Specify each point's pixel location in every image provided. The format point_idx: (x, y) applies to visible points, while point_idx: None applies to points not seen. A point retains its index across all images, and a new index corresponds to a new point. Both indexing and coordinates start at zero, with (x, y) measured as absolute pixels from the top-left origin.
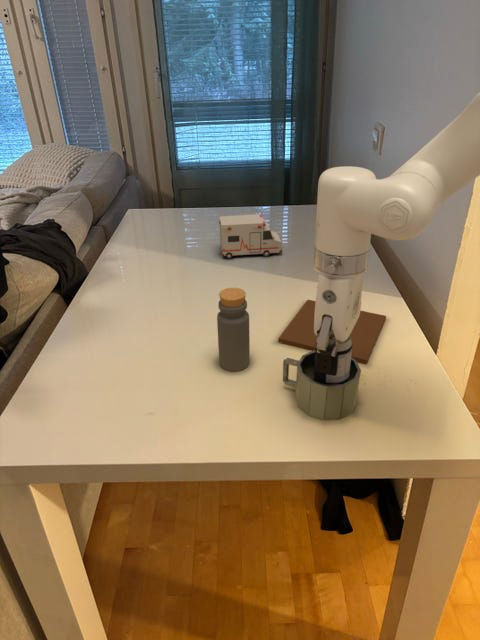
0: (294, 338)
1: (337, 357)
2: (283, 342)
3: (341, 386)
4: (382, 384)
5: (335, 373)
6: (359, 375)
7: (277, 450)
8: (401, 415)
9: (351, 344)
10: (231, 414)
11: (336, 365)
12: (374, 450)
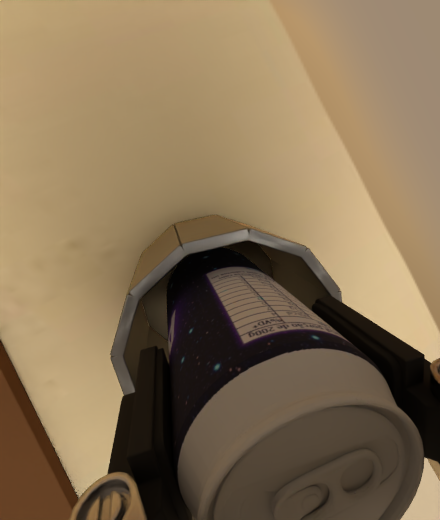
0: (43, 498)
1: (409, 345)
2: (75, 498)
3: (313, 254)
4: (35, 198)
5: (334, 300)
6: (200, 236)
7: (391, 280)
8: (136, 89)
9: (271, 361)
10: None
11: (365, 319)
12: (301, 109)
